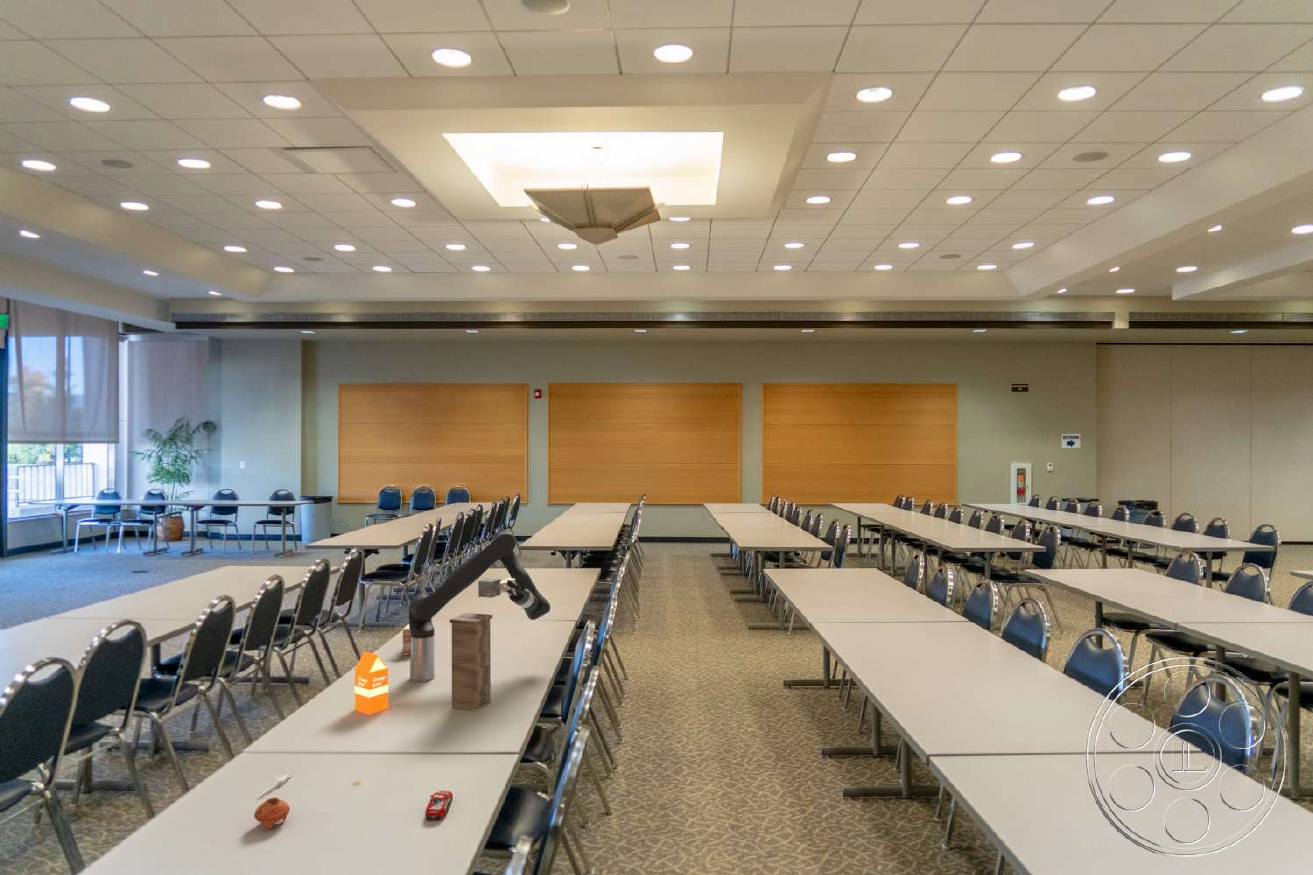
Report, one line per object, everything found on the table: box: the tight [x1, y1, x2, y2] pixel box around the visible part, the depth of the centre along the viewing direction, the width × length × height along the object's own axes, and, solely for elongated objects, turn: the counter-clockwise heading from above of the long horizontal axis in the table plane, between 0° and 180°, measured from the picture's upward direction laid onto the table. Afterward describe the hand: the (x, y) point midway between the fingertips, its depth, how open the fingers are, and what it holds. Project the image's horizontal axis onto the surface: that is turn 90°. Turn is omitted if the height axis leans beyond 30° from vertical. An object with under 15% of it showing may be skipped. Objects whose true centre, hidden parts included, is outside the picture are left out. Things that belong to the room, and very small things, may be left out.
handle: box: [477, 577, 515, 599], centre depth 296 cm, size 20×6×6 cm, turn 162°
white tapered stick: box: [255, 771, 293, 801], centre depth 211 cm, size 15×3×2 cm, turn 171°
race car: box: [425, 790, 454, 820], centre depth 199 cm, size 13×5×4 cm, turn 3°
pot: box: [253, 797, 291, 830], centre depth 191 cm, size 8×8×7 cm
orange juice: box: [354, 651, 389, 715], centre depth 273 cm, size 8×9×20 cm
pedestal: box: [449, 612, 493, 712], centre depth 277 cm, size 11×11×32 cm
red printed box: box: [402, 623, 411, 656], centre depth 352 cm, size 21×6×12 cm, turn 3°
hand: (503, 582), depth 300 cm, fingers closed on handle, 3 cm apart
